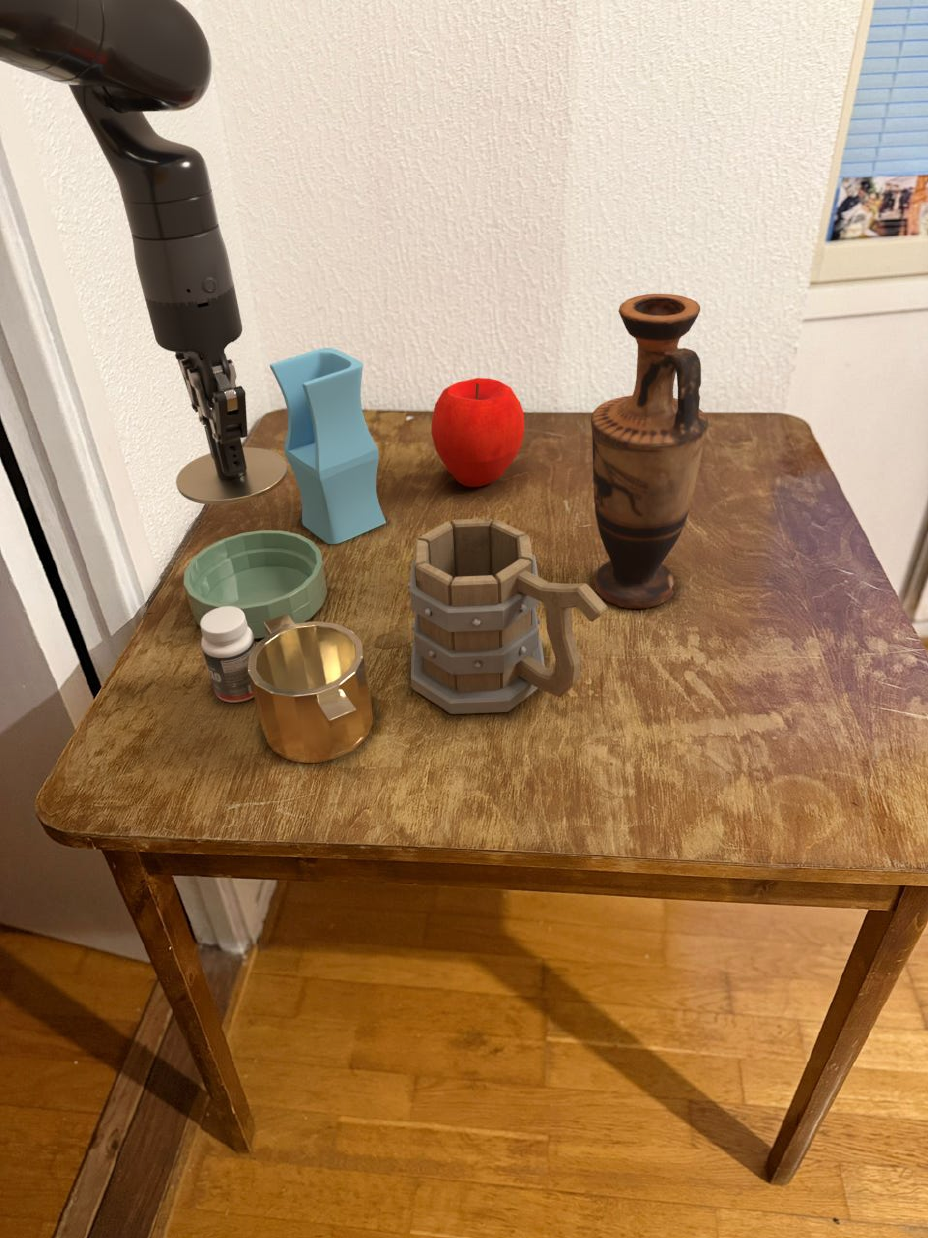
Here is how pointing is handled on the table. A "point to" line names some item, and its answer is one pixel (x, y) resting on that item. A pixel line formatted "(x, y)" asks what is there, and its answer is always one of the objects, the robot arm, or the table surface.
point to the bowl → (258, 578)
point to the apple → (477, 430)
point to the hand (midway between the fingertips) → (229, 465)
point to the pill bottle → (228, 652)
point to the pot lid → (215, 488)
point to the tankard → (489, 619)
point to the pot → (311, 689)
